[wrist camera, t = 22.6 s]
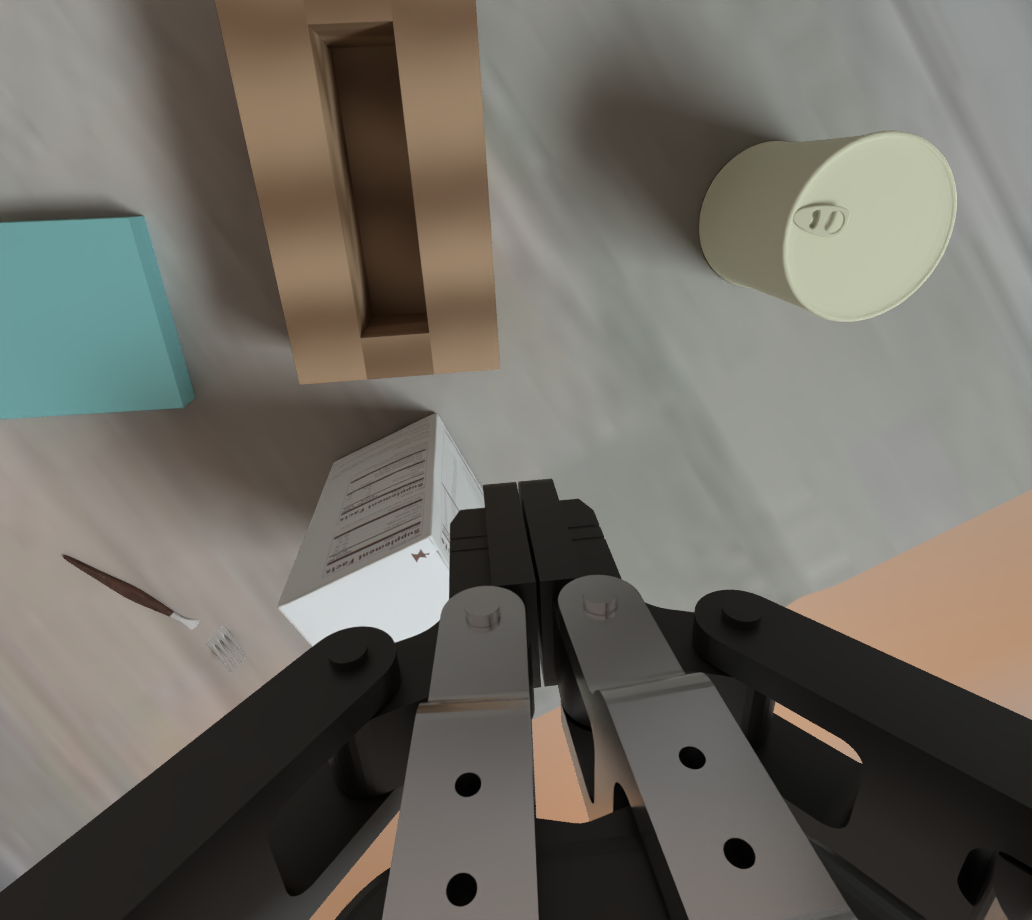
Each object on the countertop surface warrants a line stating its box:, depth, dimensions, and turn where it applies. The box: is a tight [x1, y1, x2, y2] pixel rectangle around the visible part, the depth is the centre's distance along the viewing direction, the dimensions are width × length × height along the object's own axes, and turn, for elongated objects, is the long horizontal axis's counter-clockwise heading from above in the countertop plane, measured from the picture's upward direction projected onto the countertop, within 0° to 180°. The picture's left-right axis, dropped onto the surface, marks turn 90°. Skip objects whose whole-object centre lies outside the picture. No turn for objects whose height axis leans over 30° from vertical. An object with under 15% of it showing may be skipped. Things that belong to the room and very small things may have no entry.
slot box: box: [215, 0, 500, 385], centre depth 35 cm, size 20×12×7 cm, turn 3°
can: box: [699, 131, 957, 322], centre depth 35 cm, size 9×9×12 cm
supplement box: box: [277, 413, 485, 647], centre depth 39 cm, size 10×9×17 cm
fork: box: [63, 555, 246, 673], centre depth 49 cm, size 3×16×2 cm, turn 47°
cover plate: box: [0, 216, 195, 419], centre depth 39 cm, size 12×2×14 cm
